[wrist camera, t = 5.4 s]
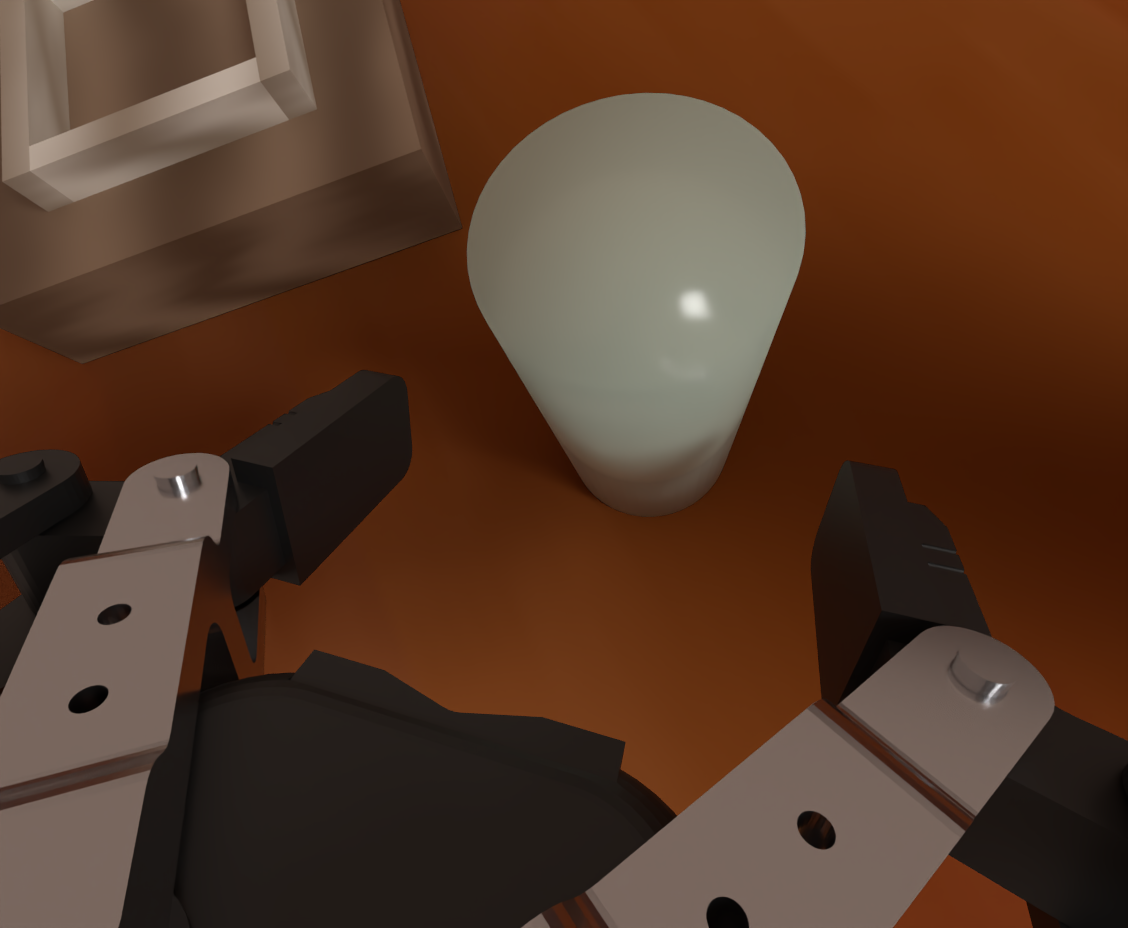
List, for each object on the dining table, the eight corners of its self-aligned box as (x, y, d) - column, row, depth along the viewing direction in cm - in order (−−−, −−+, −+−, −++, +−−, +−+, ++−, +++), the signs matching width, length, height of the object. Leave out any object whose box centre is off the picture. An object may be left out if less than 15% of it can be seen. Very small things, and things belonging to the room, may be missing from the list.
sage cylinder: (697, 347, 20) (734, 48, 10) (751, 489, 19) (863, 322, 8) (553, 395, 20) (436, 158, 10) (596, 536, 19) (511, 436, 9)
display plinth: (382, -64, 27) (313, -229, 22) (462, 228, 23) (400, 110, 17) (65, 63, 28) (-72, -63, 23) (82, 364, 24) (-82, 292, 19)
